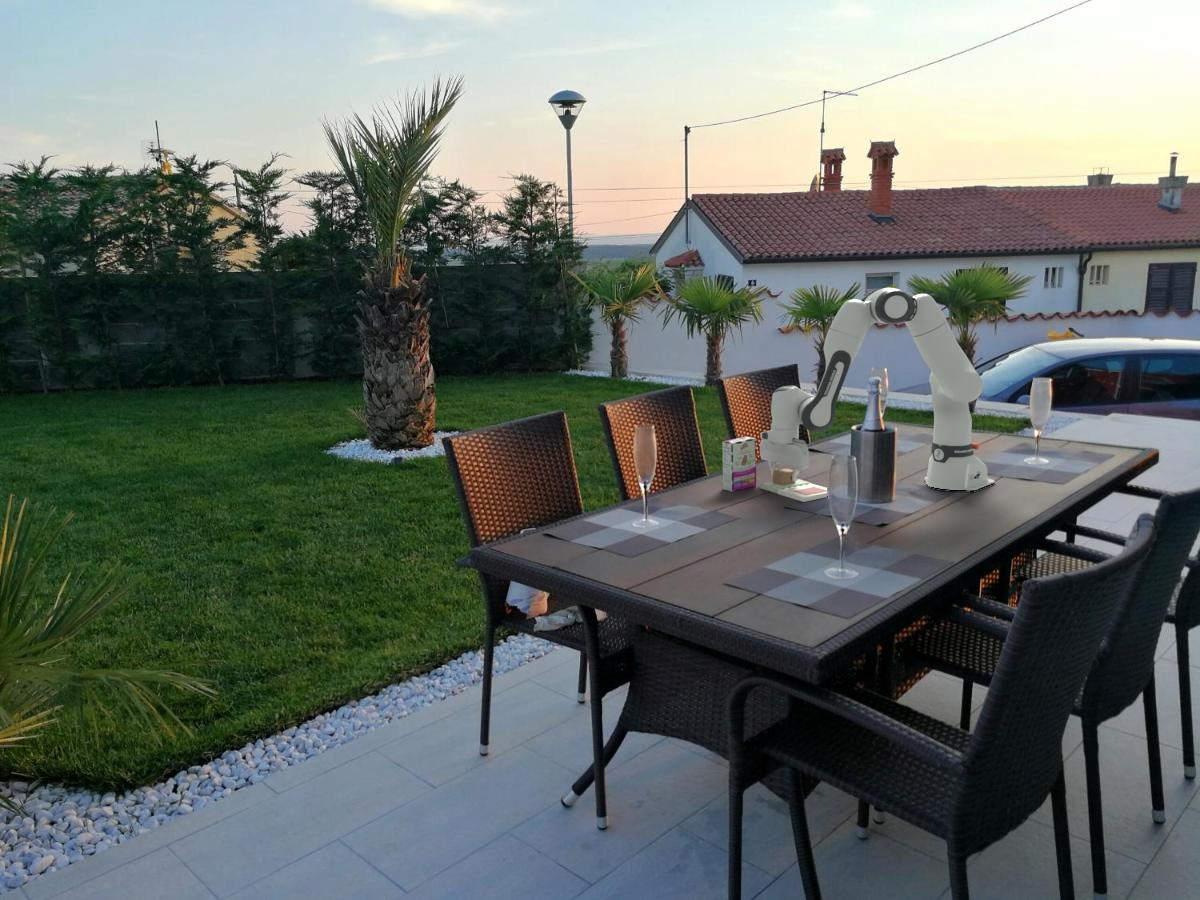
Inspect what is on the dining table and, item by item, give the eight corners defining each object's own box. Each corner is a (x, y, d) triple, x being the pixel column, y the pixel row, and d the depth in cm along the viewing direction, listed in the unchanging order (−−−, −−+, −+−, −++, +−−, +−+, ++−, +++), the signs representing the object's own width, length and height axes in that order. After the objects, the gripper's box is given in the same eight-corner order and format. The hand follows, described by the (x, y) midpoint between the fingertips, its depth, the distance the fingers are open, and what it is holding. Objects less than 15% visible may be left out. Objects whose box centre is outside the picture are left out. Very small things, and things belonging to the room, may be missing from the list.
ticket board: (810, 487, 273) (810, 482, 273) (837, 495, 263) (837, 490, 263) (777, 494, 267) (777, 489, 266) (803, 502, 256) (803, 497, 256)
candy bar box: (745, 483, 281) (745, 435, 277) (756, 486, 277) (757, 438, 273) (721, 489, 274) (721, 440, 271) (732, 492, 270) (732, 442, 267)
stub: (793, 482, 280) (793, 466, 279) (809, 486, 273) (810, 470, 272) (760, 488, 274) (760, 471, 273) (776, 493, 267) (776, 476, 266)
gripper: (814, 439, 263) (813, 482, 266) (771, 430, 281) (771, 470, 283) (799, 442, 260) (798, 485, 263) (756, 432, 278) (756, 473, 281)
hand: (783, 477), depth 273 cm, fingers open, 8 cm apart
